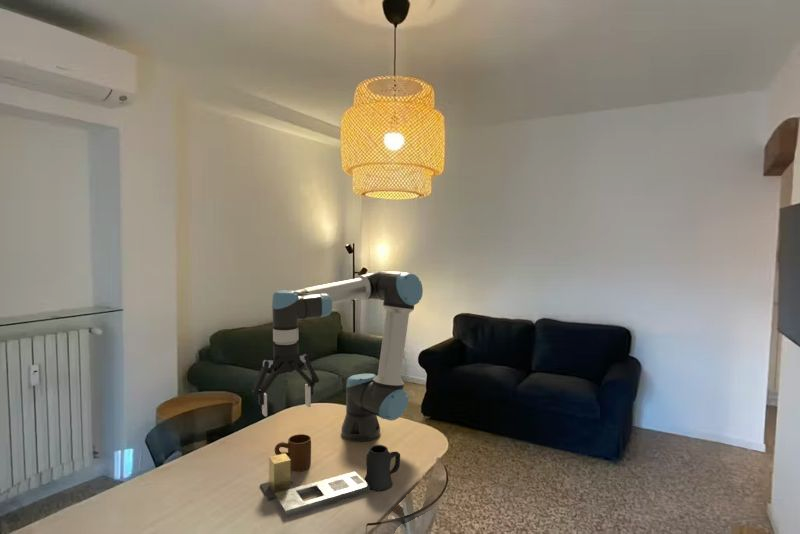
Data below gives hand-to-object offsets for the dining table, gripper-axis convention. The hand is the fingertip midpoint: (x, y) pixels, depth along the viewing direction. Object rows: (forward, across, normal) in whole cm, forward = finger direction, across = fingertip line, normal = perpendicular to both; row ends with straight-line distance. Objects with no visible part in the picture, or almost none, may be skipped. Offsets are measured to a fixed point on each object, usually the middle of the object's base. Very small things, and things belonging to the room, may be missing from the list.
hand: (286, 410), depth 142 cm
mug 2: (+24, -26, +14) cm, 38 cm away
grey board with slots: (+24, -7, +12) cm, 27 cm away
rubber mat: (+24, +3, +2) cm, 24 cm away
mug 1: (+24, -5, -9) cm, 26 cm away
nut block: (+23, +3, +2) cm, 23 cm away
